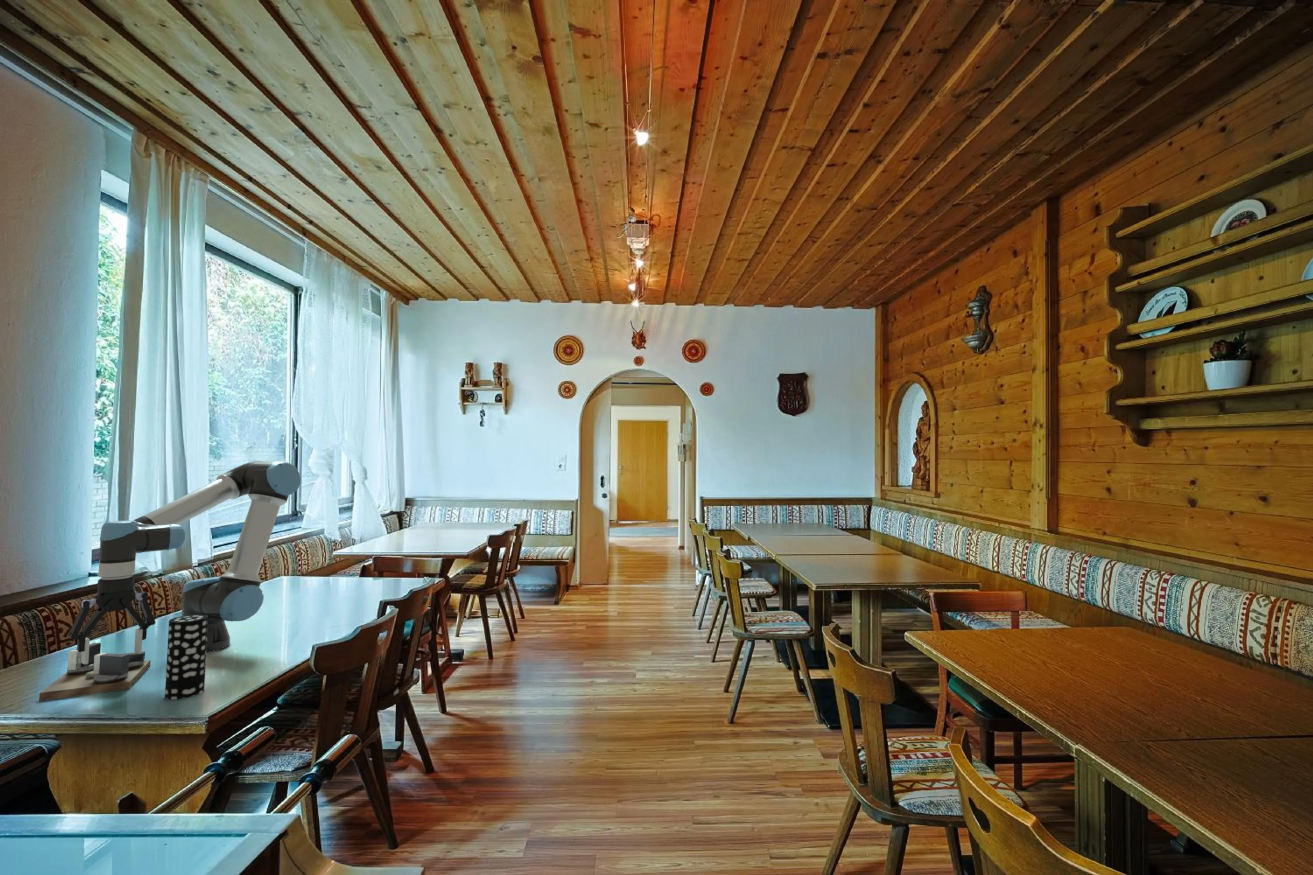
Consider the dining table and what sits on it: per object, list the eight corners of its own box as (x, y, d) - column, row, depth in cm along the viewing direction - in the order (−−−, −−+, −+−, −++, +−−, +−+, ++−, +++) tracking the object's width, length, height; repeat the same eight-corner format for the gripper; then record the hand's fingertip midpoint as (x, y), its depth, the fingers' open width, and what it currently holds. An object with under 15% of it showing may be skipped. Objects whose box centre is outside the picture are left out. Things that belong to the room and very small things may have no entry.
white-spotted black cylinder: (179, 687, 163) (183, 614, 164) (211, 687, 164) (215, 614, 165) (156, 699, 155) (160, 622, 156) (190, 699, 156) (194, 622, 157)
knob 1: (83, 665, 173) (84, 642, 174) (108, 665, 174) (110, 642, 174) (57, 675, 165) (59, 651, 166) (84, 674, 166) (86, 651, 166)
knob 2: (136, 674, 166) (137, 651, 167) (111, 683, 159) (113, 659, 160) (109, 673, 167) (111, 650, 167) (83, 682, 160) (85, 658, 160)
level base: (150, 666, 180) (150, 655, 180) (129, 689, 162) (129, 677, 162) (70, 675, 171) (71, 664, 171) (39, 700, 154) (39, 687, 154)
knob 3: (147, 660, 178) (147, 648, 178) (140, 667, 172) (140, 655, 172) (116, 664, 175) (116, 651, 175) (107, 671, 169) (108, 658, 169)
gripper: (162, 569, 176) (158, 644, 175) (54, 581, 157) (49, 666, 156) (172, 572, 172) (168, 649, 171) (63, 585, 153) (58, 672, 152)
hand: (112, 657), depth 164 cm, fingers open, 10 cm apart
